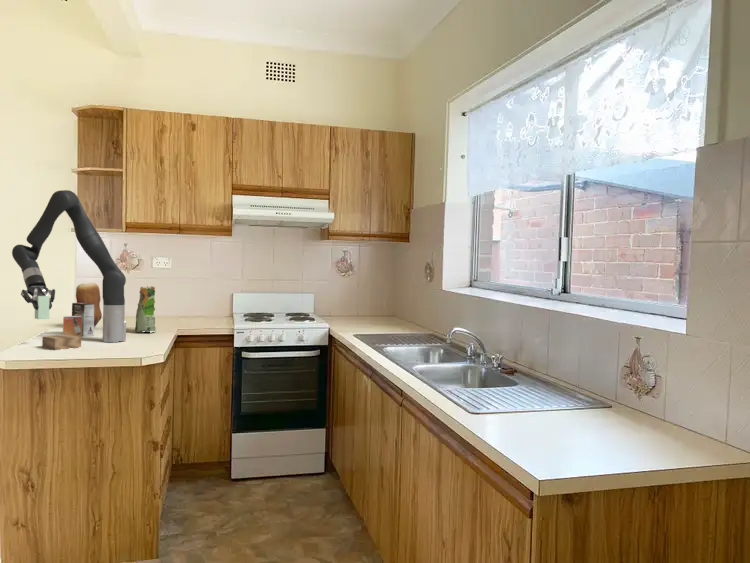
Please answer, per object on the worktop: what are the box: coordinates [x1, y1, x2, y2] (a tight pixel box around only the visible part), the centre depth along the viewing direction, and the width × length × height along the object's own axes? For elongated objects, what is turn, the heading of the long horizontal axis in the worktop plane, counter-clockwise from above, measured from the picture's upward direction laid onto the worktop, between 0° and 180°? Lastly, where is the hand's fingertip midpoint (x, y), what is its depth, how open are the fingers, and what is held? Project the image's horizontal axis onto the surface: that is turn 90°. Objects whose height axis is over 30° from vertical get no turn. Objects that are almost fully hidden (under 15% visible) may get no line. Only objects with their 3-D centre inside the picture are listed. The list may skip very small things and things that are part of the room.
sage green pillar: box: [34, 295, 50, 320], centre depth 257 cm, size 4×4×10 cm
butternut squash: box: [75, 282, 103, 328], centre depth 320 cm, size 14×13×25 cm
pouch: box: [134, 285, 157, 333], centre depth 310 cm, size 11×12×25 cm
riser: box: [41, 334, 82, 351], centre depth 253 cm, size 11×11×5 cm
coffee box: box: [71, 302, 95, 337], centre depth 294 cm, size 9×6×16 cm
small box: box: [62, 315, 82, 338], centre depth 283 cm, size 8×6×10 cm
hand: (43, 308), depth 256 cm, fingers closed on sage green pillar, 4 cm apart
